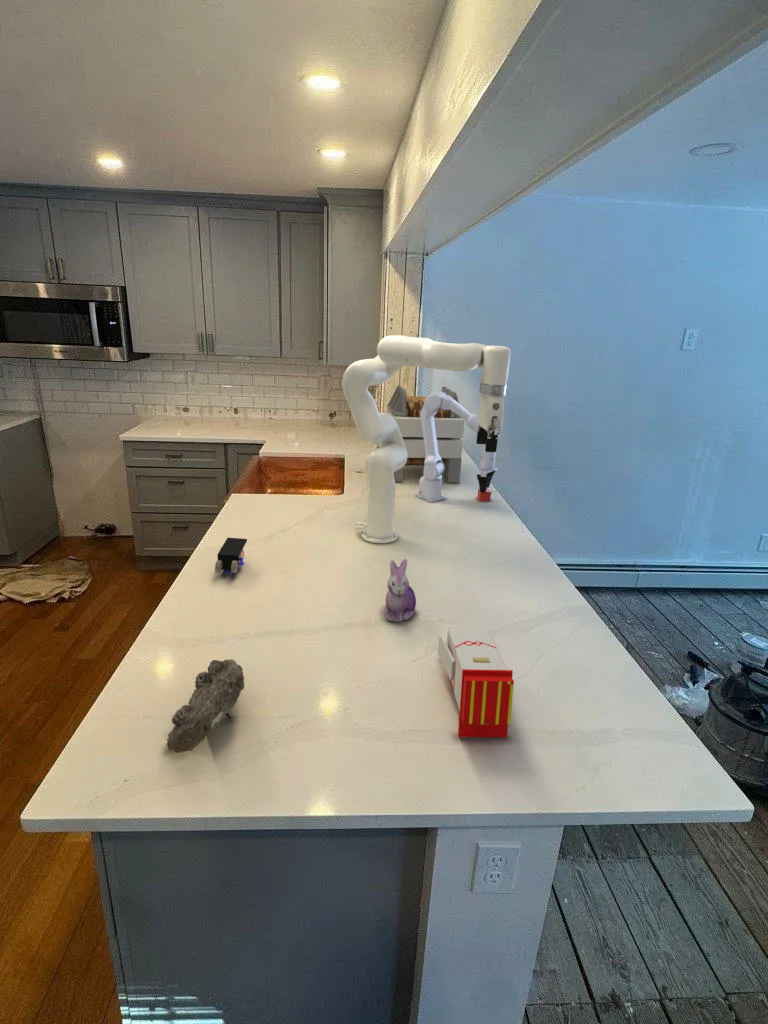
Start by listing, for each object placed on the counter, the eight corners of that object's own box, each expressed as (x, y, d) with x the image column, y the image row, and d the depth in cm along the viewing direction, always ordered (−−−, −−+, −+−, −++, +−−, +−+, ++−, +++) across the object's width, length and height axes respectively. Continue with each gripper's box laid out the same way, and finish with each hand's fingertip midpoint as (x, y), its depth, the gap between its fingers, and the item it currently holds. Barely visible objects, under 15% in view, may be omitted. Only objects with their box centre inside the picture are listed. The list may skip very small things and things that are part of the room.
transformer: (382, 463, 289) (386, 382, 275) (445, 464, 293) (451, 384, 279) (390, 482, 257) (394, 392, 243) (460, 483, 261) (468, 394, 247)
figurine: (392, 627, 141) (395, 572, 136) (374, 608, 149) (376, 556, 144) (425, 619, 145) (429, 566, 140) (405, 601, 154) (408, 550, 149)
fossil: (192, 660, 117) (244, 628, 112) (224, 691, 120) (276, 661, 115) (142, 746, 98) (202, 712, 93) (182, 779, 101) (242, 748, 96)
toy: (488, 613, 130) (523, 677, 101) (484, 667, 133) (517, 744, 104) (435, 612, 130) (455, 676, 101) (432, 666, 133) (451, 743, 103)
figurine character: (238, 584, 162) (249, 557, 175) (236, 562, 158) (247, 536, 172) (215, 584, 161) (227, 556, 175) (212, 561, 158) (225, 535, 171)
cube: (490, 501, 239) (491, 492, 237) (479, 501, 238) (480, 491, 237) (487, 498, 243) (488, 488, 241) (477, 498, 242) (478, 488, 241)
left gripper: (515, 395, 157) (506, 455, 163) (496, 386, 173) (489, 441, 179) (488, 394, 156) (481, 454, 162) (472, 385, 172) (466, 440, 178)
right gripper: (495, 462, 216) (491, 496, 221) (501, 454, 229) (497, 486, 234) (476, 460, 218) (473, 493, 223) (483, 452, 231) (480, 483, 236)
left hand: (485, 447), depth 170 cm, fingers open, 9 cm apart
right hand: (484, 489), depth 229 cm, fingers open, 7 cm apart
